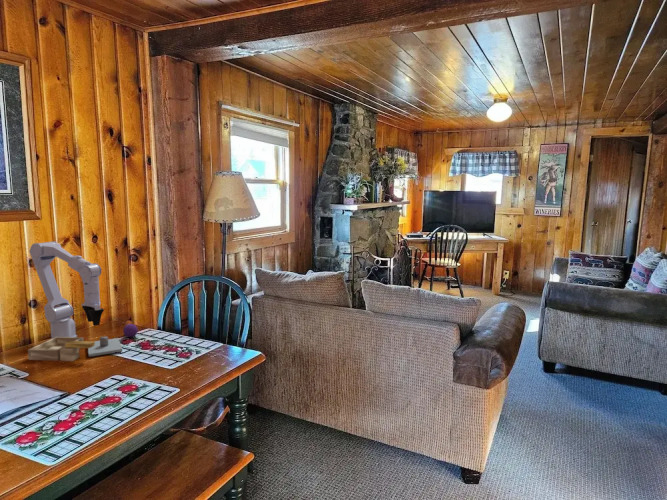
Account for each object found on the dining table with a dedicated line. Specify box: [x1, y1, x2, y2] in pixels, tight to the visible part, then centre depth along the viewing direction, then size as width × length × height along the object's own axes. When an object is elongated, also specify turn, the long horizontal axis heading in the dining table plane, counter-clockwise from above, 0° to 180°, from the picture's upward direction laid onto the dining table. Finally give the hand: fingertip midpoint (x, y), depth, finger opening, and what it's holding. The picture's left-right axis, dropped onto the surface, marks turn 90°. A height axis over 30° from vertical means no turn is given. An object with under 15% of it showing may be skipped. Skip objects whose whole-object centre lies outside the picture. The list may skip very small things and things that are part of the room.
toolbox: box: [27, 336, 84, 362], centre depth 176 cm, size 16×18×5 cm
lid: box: [87, 336, 123, 358], centre depth 181 cm, size 16×12×6 cm
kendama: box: [123, 320, 139, 338], centre depth 203 cm, size 6×6×20 cm
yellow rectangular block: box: [65, 340, 95, 349], centre depth 169 cm, size 3×10×2 cm, turn 87°
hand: (93, 323), depth 185 cm, fingers open, 7 cm apart
